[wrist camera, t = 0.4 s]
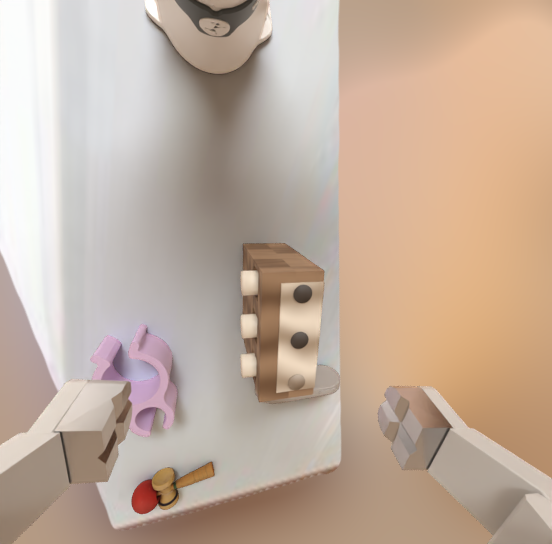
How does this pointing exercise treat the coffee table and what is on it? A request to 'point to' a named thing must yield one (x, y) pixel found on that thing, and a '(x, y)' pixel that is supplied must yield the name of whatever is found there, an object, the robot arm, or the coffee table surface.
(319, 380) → the game controller
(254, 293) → the button
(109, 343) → the clip
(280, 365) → the console
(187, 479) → the kendama
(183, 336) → the coffee table surface
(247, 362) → the button
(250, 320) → the button middle
